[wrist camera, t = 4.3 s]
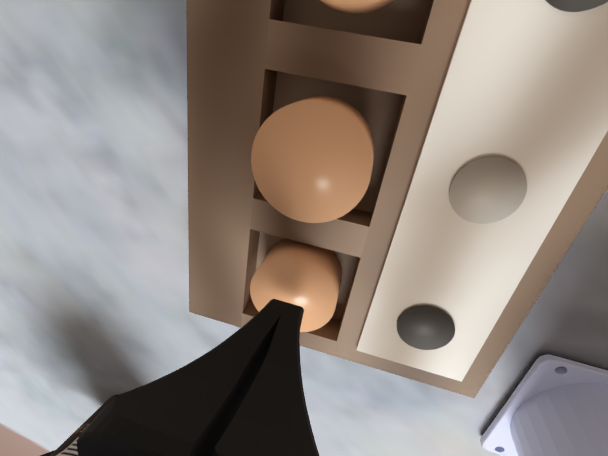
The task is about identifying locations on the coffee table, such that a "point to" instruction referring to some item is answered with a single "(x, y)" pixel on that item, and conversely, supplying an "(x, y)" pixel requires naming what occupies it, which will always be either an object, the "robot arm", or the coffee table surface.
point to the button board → (405, 165)
